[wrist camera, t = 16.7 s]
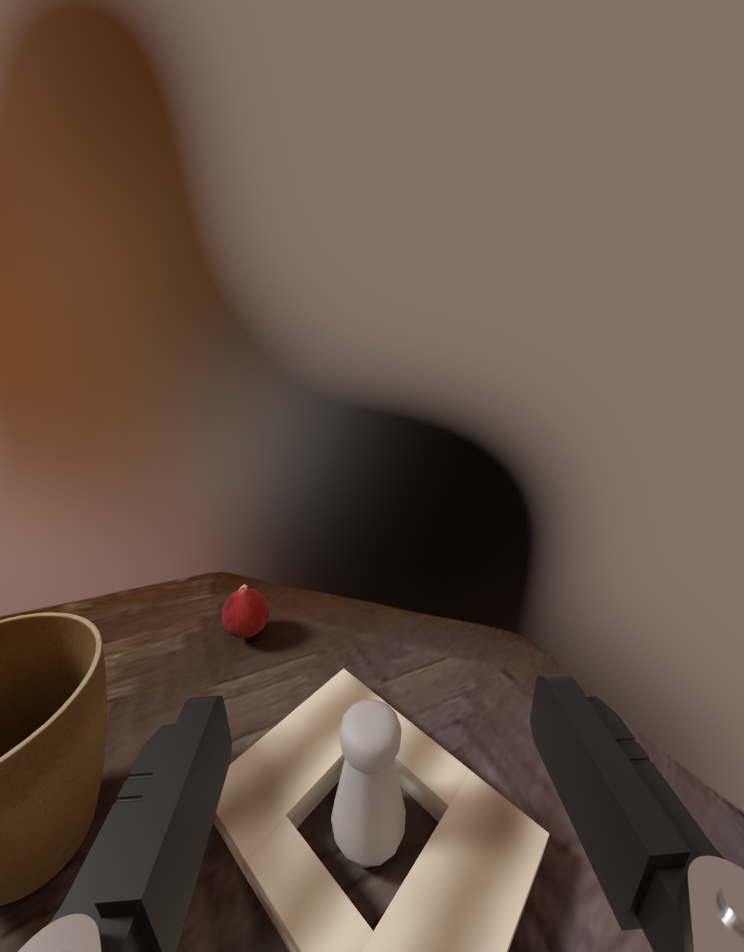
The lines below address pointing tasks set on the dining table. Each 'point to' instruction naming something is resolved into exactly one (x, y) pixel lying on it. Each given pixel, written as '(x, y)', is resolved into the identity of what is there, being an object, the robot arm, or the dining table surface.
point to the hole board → (433, 874)
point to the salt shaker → (369, 785)
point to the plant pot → (48, 744)
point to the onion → (245, 613)
